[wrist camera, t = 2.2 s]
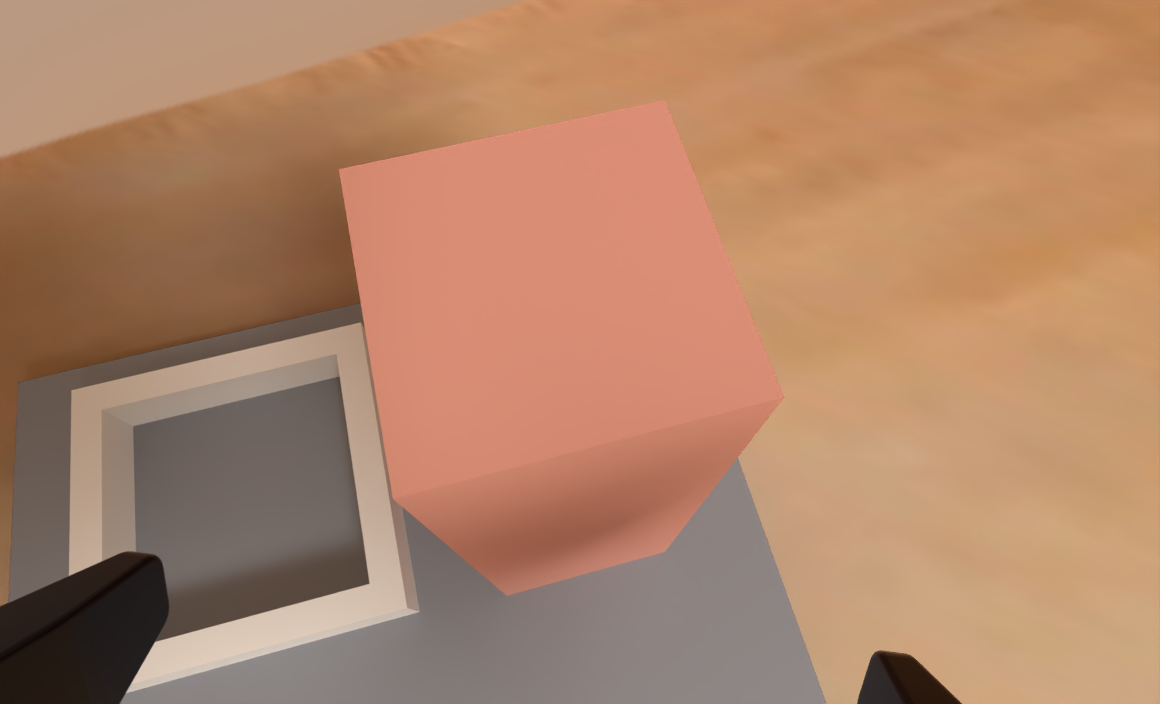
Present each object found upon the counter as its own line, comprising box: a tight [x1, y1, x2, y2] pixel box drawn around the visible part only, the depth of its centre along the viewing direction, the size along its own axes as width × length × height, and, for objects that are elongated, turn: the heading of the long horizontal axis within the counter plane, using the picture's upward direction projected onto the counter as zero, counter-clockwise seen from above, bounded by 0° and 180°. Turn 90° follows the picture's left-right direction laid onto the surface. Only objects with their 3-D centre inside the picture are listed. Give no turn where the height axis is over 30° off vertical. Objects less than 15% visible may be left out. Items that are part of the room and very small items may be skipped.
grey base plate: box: [8, 303, 826, 704], centre depth 19 cm, size 20×15×2 cm
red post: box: [339, 100, 784, 596], centre depth 14 cm, size 4×4×12 cm
